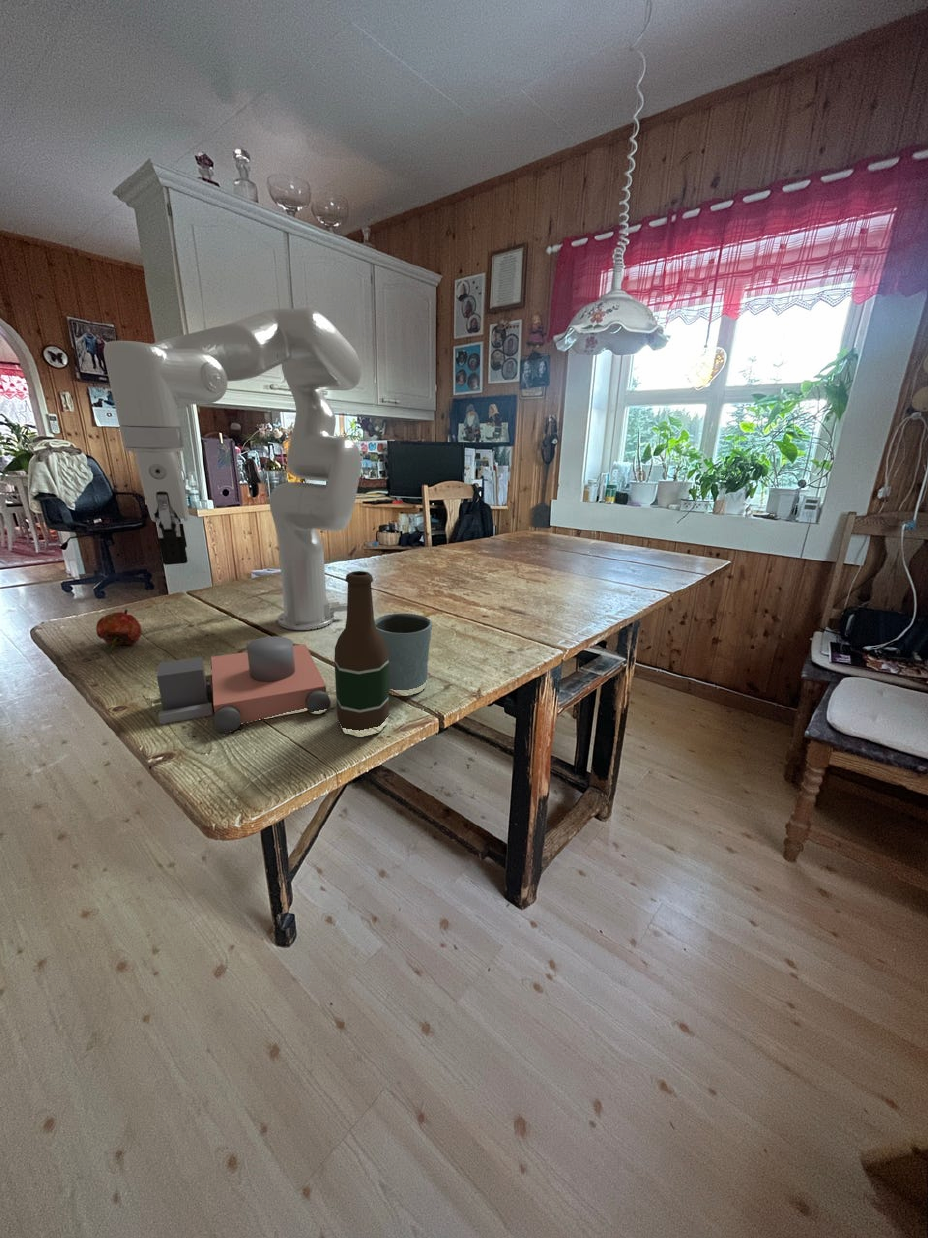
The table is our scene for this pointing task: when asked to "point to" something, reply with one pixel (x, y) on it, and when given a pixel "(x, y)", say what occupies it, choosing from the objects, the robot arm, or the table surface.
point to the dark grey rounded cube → (182, 683)
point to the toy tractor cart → (258, 685)
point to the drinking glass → (406, 648)
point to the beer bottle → (361, 661)
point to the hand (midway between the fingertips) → (175, 555)
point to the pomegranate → (119, 629)
